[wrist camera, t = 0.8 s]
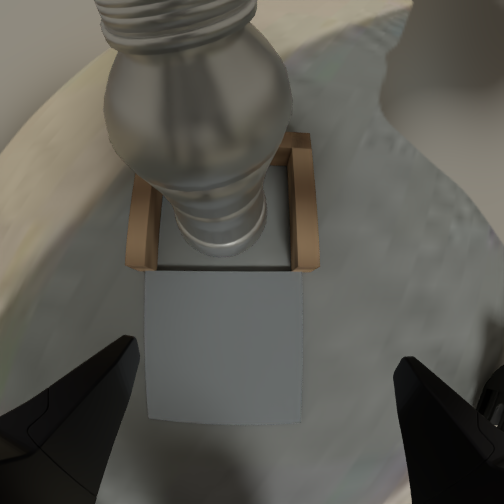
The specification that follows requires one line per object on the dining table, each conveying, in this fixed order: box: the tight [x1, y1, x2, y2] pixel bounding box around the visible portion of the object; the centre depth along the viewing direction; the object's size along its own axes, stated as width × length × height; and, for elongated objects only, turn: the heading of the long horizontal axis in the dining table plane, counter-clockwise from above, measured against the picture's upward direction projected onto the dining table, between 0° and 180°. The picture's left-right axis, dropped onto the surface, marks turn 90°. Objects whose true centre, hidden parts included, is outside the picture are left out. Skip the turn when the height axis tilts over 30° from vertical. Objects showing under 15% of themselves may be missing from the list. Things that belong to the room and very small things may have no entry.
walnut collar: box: [125, 132, 320, 272], centre depth 22 cm, size 10×13×3 cm
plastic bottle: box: [94, 0, 293, 257], centre depth 13 cm, size 6×7×20 cm
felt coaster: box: [144, 271, 303, 425], centre depth 21 cm, size 12×12×1 cm
